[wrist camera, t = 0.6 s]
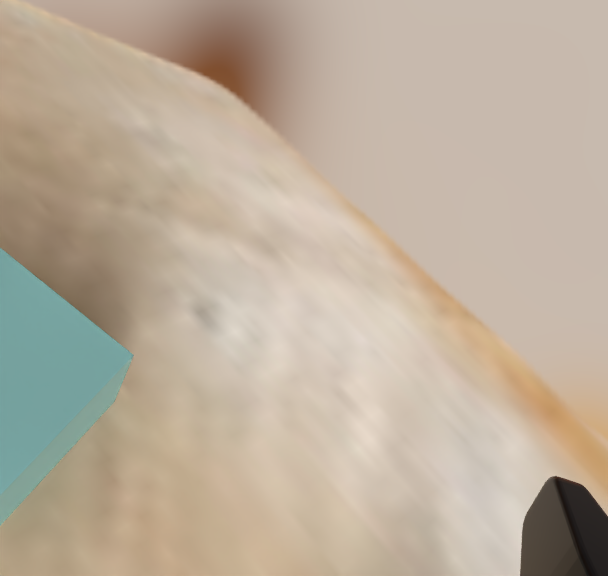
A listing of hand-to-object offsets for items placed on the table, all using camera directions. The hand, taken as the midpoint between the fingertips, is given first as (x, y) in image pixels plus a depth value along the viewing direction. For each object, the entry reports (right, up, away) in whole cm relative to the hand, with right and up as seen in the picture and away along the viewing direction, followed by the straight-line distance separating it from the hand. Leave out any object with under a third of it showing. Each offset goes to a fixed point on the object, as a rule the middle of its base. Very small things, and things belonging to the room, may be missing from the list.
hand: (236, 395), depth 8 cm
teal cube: (-11, -3, +14) cm, 18 cm away
